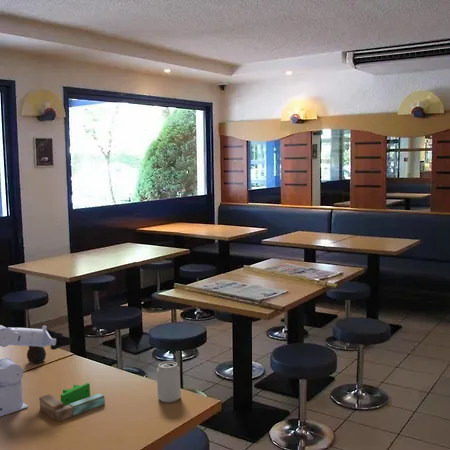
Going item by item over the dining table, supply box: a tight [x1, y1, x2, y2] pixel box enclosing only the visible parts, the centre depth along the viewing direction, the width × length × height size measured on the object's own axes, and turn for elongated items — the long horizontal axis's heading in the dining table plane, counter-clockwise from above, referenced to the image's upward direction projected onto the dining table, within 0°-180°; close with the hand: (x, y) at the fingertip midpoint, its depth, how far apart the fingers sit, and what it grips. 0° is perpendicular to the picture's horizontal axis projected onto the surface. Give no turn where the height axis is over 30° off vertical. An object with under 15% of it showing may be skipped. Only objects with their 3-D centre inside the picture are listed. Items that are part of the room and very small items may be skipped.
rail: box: [54, 393, 106, 422], centre depth 173 cm, size 16×3×3 cm, turn 132°
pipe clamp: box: [60, 382, 91, 406], centre depth 182 cm, size 11×4×5 cm, turn 145°
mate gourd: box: [26, 346, 47, 365], centre depth 219 cm, size 7×8×10 cm
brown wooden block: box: [39, 393, 64, 420], centre depth 173 cm, size 4×10×4 cm, turn 42°
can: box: [156, 360, 182, 404], centre depth 180 cm, size 8×8×12 cm
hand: (66, 339), depth 189 cm, fingers open, 7 cm apart
